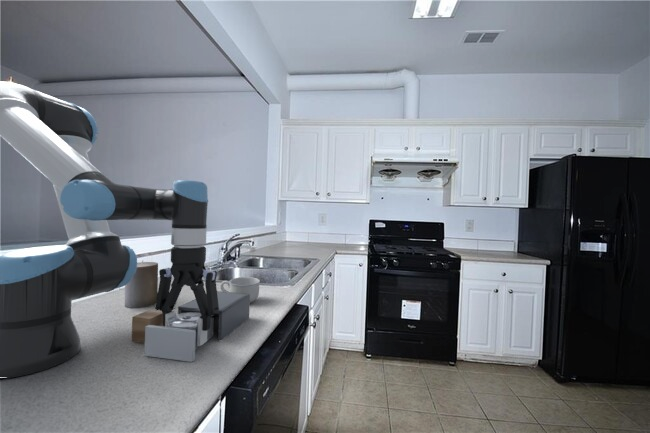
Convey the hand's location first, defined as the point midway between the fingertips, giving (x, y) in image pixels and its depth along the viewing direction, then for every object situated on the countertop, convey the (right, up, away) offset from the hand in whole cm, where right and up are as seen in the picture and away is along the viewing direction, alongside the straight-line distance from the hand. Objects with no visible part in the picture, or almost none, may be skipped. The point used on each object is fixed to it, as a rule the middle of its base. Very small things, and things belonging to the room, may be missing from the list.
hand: (186, 341), depth 66 cm
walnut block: (-12, -1, +4) cm, 12 cm away
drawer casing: (+2, -1, +13) cm, 13 cm away
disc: (0, +4, 0) cm, 4 cm away
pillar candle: (-31, -1, +30) cm, 43 cm away
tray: (0, -1, 0) cm, 1 cm away
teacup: (+2, -2, +36) cm, 36 cm away
